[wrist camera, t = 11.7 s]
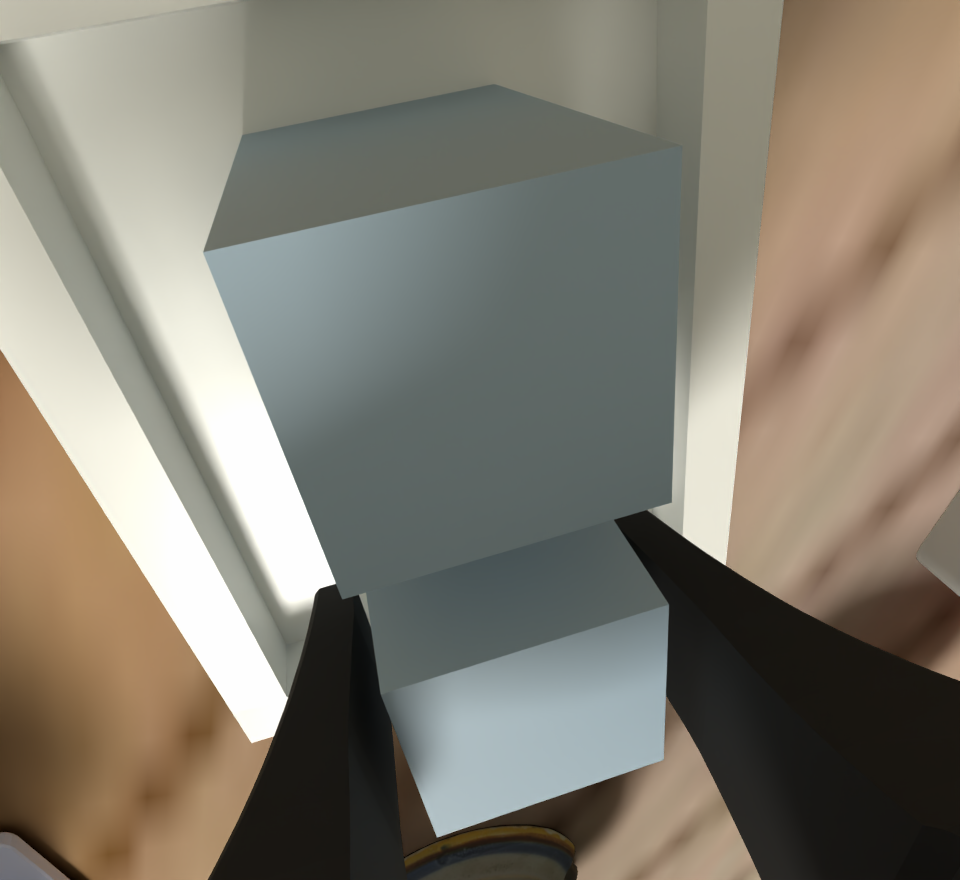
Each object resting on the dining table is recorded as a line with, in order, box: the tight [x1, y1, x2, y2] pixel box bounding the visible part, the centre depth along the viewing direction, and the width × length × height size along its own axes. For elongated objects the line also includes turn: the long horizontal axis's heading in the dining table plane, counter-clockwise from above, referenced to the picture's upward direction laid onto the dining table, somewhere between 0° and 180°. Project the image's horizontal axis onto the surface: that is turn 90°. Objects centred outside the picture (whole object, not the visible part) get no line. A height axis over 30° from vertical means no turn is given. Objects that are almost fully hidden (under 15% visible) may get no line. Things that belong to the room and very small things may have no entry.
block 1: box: [203, 84, 682, 599], centre depth 9 cm, size 4×4×6 cm
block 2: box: [366, 520, 669, 837], centre depth 12 cm, size 4×4×6 cm
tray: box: [0, 0, 784, 743], centre depth 13 cm, size 12×15×2 cm
